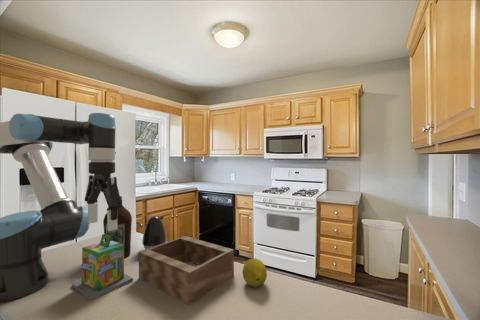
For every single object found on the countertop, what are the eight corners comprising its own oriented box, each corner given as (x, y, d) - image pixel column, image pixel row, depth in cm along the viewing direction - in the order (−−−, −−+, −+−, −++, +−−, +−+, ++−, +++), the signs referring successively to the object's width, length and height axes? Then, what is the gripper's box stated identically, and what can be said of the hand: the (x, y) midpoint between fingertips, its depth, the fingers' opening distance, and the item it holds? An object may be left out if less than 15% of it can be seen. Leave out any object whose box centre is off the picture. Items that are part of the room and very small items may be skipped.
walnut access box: (138, 278, 80) (138, 251, 80) (184, 257, 97) (184, 235, 97) (190, 304, 65) (189, 272, 65) (233, 275, 82) (233, 249, 82)
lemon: (243, 276, 81) (243, 253, 81) (266, 277, 81) (266, 253, 81) (241, 294, 70) (241, 267, 70) (267, 295, 70) (267, 268, 70)
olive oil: (108, 252, 102) (107, 195, 102) (134, 249, 105) (134, 194, 105) (99, 262, 92) (99, 199, 92) (128, 259, 94) (128, 198, 94)
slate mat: (72, 286, 75) (72, 283, 75) (113, 270, 86) (113, 267, 86) (89, 300, 67) (89, 296, 67) (132, 281, 78) (132, 278, 78)
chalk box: (80, 283, 75) (80, 237, 75) (109, 271, 83) (108, 229, 82) (96, 292, 70) (96, 242, 70) (125, 278, 78) (125, 234, 78)
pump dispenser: (171, 248, 107) (171, 215, 107) (152, 256, 98) (152, 220, 98) (156, 244, 112) (156, 212, 112) (137, 251, 103) (137, 217, 103)
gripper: (134, 161, 72) (133, 230, 72) (97, 160, 87) (96, 217, 87) (109, 162, 66) (108, 236, 66) (73, 160, 80) (73, 222, 81)
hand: (102, 226), depth 77 cm, fingers open, 13 cm apart
